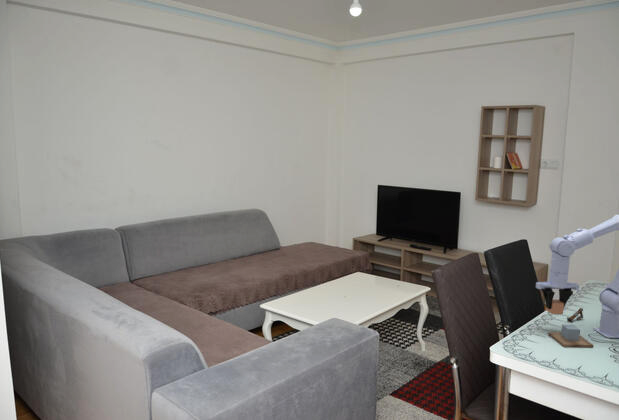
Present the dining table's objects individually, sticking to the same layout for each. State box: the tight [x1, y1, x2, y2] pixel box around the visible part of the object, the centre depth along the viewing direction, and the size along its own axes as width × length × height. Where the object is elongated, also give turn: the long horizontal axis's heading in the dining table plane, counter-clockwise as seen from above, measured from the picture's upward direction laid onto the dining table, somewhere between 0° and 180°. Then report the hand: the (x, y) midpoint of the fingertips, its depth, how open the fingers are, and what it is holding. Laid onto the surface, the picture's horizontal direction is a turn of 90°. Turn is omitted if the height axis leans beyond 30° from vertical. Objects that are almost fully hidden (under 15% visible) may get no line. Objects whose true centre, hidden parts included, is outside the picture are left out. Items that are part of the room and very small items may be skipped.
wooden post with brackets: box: [566, 307, 584, 323], centre depth 181 cm, size 2×8×5 cm, turn 117°
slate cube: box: [560, 324, 581, 341], centre depth 161 cm, size 4×4×4 cm
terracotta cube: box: [545, 299, 565, 315], centre depth 168 cm, size 4×4×4 cm
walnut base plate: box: [547, 331, 594, 349], centre depth 161 cm, size 10×10×1 cm
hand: (554, 308), depth 168 cm, fingers closed on terracotta cube, 4 cm apart
